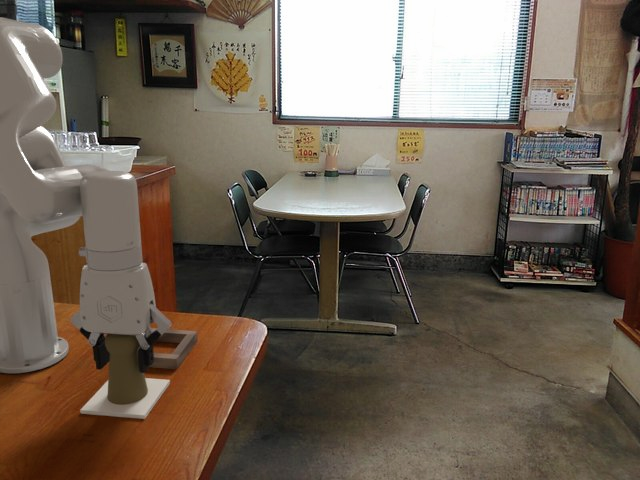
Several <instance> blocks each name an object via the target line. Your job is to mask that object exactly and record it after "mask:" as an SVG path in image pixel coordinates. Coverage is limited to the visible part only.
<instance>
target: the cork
mask: <svg viewBox="0 0 640 480" xmlns="http://www.w3.org/2000/svg"><path fill="white" fill-rule="evenodd" d="M105 337H106V338H105V346H106V349H107V351H108V352H109V353H110V359H109V362H108V379H107V381H108V396H107V398H108V400H109V401H110V402H111V403H113V404H117V405H126V404H132V403H135V402H137V401H140V400H141V399H143V398H144V397H145V396H146V395H147V393H148V388H147V384H146V380H145V378H146V377H145V373H141V372H139V360H138V348H139V347H140V344H139V342H138V340H137V338H136V336H135V335H118V334H105Z"/></svg>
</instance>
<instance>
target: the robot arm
mask: <svg viewBox="0 0 640 480" xmlns="http://www.w3.org/2000/svg"><path fill="white" fill-rule="evenodd" d="M63 59H64V58H63V52H62V48H61V46H60V43H59V42H58V39H57V38H56V37H55V35H54V34H53V33H52V32H51V31H50V30H49V29H47V28H46V27H45V26H42V24H38V23H37V24H36V23H32V22H31V23H30V22H25V21H20V20H15V19H12V18H7V17H0V373H2V374H3V373H4V374H25V373H31V372H35V371H38V370H42V369H46V368H47V367H51V366H53V365H55V364H56V363H58V362H60V361H61V360H62V359H64V358H65V357H66V356H67V354H68V352H69V351H70V350H69V348H70V347H69V342H68V341H67V339H65V338H63V337H61V336H58V327H57V320H56V319H57V318H56V313H55V305H54V295H53V288H52V287H53V286H52V281H51V272H50V266H49V261H48V258H47V256H46V254H45V252H44V251H43V250H42V249H41V248H40V247H38V246H37V245H36V244H35V242H33V240H32V237H33V236H34V237H35V236H37V235H41V234H43V233H49V232H53V231H56V230H61V229H64V228H68V227H70V226H73V225H75V224H76V223H77V222H78V221H79V220H80V218H81V217H82V223H83V232H84V234H83V235H84V241H85V243H84V244H85V246H84V247H82V246H81V247H79V249H78V256H79V257H84V258H85V262H86V264H85V265H83V266H82V268H81V275H80V283H79V284H80V285H79V309H78V310H77V311H76V312H75V313H74V314H73V316H72V317H70V318H69V321H70V323H71V324H72V325H73V327H75V328H76V329H77V330H79V332H80V334H81V335H82V336H83V337H84V338H85V339H87V341H88V342H87V343H88V345H90V346H92V354H93V361H94V362H95V367H96V370H99V371H100V370H102V369H104V367H105V366H106V365H107V364H109V359H110V353H109V352H108V351H107V349H106V346H105V338H106V335H107V334H118V335H135V336H136V338H137V340H138V342H139V344H140V346H141V347H140V348H139V349H138V360H139V372H141V373H144V374H145V373H146V372H147V371H148V370H149V368H151V367H150V366H151V365H152V364H153V362H154V353H155V352H154V343H156V342H157V341H156V340H157V339H158V338H159V337H160V336H161V335H163V334H164V333H165V332H166V331H167V330H168V329H171V327H172V324H173V323H172V321H171V320H170V319H168V318H167V316H165V314H164V313H163V312H161V311H160V310H159V309H158V308H157V305H156V298H155V296H156V295H155V291H154V286H153V281H152V277H151V273H150V270H149V266H148V264H147V263H146V262H143V261H144V260H143V248H142V246H143V245H142V234H141V233H142V232H141V221H140V207H139V205H140V204H139V196H138V195H139V194H138V183H137V180H136V178H135V176H134V175H133V174H131V173H130V172H127V171H121V170H110V169H107V168H104V167H103V166H100V165H98V164H97V165H96V164H92V163H91V164H90V163H89V164H88V163H87V164H77V165H69V166H68V164H67V162H66V161H65V159H64V156H63V154H62V152H61V150H60V147H59V146H58V144H57V142H56V140H55V138H54V137H53V135H52V134H51V133H50V131H49V130H48V129H46V128H45V127H44V126H43V125H45V124H46V123H47V122H48V121H49V120H51V118H52V117H53V116H54V115H55V113H56V111H57V104H58V103H57V100H56V98H55V96H54V95H53V92H51V90H50V88H49V86H48V85H47V83H46V82H45V80H44V79H50V78H53V77H55V76H56V75H58V73H59V72H60V71H61V69H62V66H63ZM152 324H156V325H157V329H156V330H155V331H154V332H153V331H152V329H151V328H152V327H151V325H152Z"/></svg>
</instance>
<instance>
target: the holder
mask: <svg viewBox="0 0 640 480" xmlns="http://www.w3.org/2000/svg"><path fill="white" fill-rule="evenodd" d="M157 328H158V327H157ZM157 328H155V327H151V329H152V331H153V332H154V331H155V330H156V329H157ZM198 339H199V337H198V331H196V330H182V329H171V328H169V329H168V330H167V331H166V332H165V333H164V334H163V335H161V336H160V337H159V338H158V339H157V340H156V341H155V342H156V343H157V342H159V343H160V342H161V343H170V344H171V343H173V344H178V345H177V347H176V348H175V349H174V350H173V352H172V353H163V352H162V353H160V352H159V353H158V352H153V353H154V362H153V364H152V365H151V366H150V367H149V368H154V369H155V368H156V369H157V368H158V369H168V370H170V369H171V370H178V369H179V367H180V366H181V365H182V363H183V362H184V360H185V359H186V358H187V356H188V355H189V353H190V352H191V351H192V350H193V347H194V346H195V345H196V344H197V342H198ZM140 347H141V346H140ZM140 347H139V348H140ZM139 348H138V349H139Z"/></svg>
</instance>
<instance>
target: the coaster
mask: <svg viewBox="0 0 640 480" xmlns="http://www.w3.org/2000/svg"><path fill="white" fill-rule="evenodd" d="M145 380H146V384H147V388H148V393H147V395H146V396H145V397H144V398H143V399H141V400H140V401H137V402H135V403H132V404H126V405H117V404H113V403H111V402H110V401H109V400H108V398H107V396H108V380H107V381H105V382H104V384H103V385H102V386H101V387H100V388H99V389H98V390H97V391H96V392H95V394H93V396H92V397H90V399H89V400H88V401H87V402H86V403H85V404H84V405H83V406H82V408H80V411H79V412H80V414H82V415H83V414H84V415H93V416H94V415H95V416H108V417H117V418H131V419H140V420H141V419H142V420H145V419H146V418H147V416H148V415H149V414H150V412H151V411H152V410H153V409H154V407H155V405H156V404H157V403H158V401H159V399H160V398H161V397H162V396H163V394H164V392H166V390H167V389H168V387H169V385H171V380H170V379H165V378H164V379H162V378H152V377H151V378H149V377H148V378H147V377H145Z"/></svg>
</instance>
